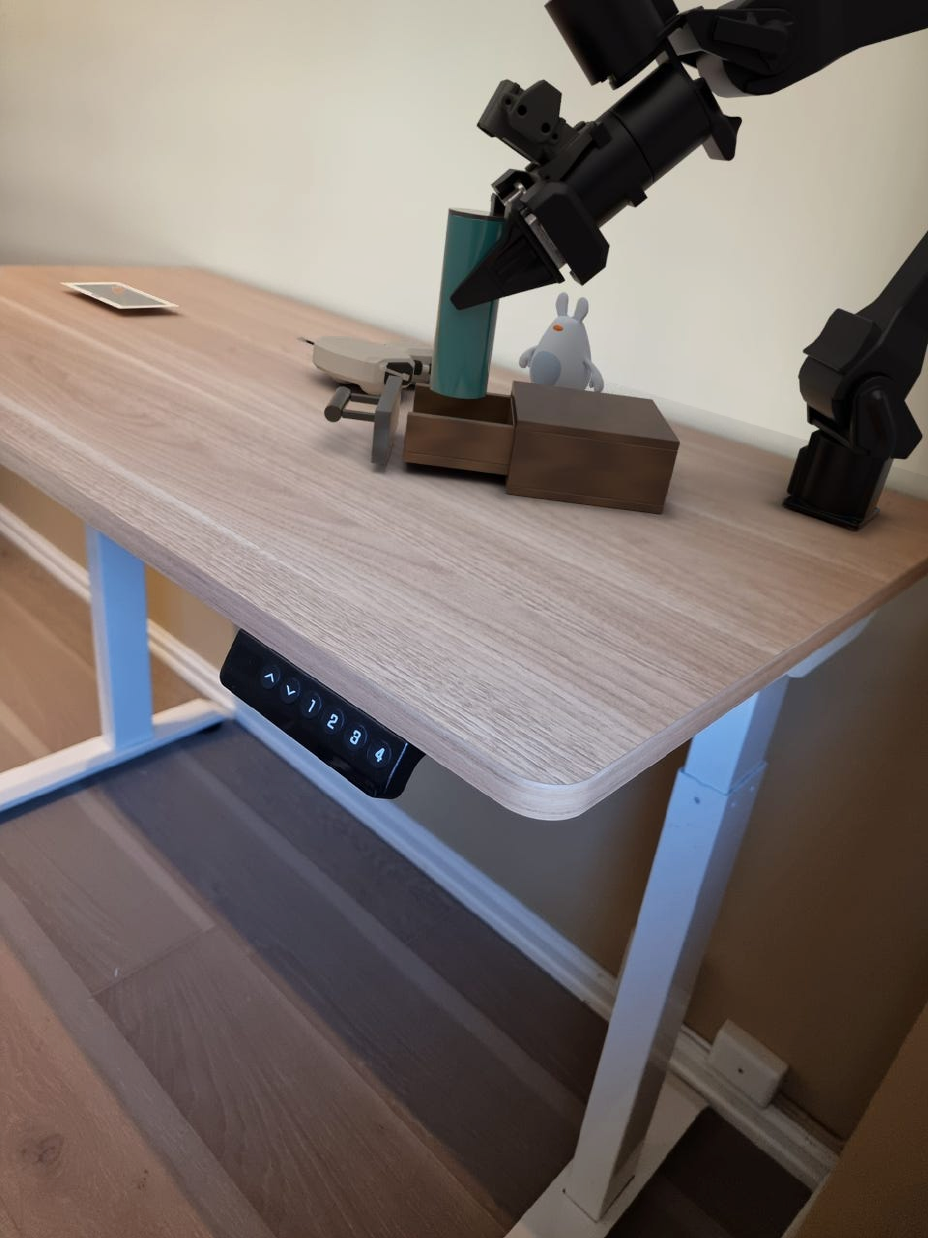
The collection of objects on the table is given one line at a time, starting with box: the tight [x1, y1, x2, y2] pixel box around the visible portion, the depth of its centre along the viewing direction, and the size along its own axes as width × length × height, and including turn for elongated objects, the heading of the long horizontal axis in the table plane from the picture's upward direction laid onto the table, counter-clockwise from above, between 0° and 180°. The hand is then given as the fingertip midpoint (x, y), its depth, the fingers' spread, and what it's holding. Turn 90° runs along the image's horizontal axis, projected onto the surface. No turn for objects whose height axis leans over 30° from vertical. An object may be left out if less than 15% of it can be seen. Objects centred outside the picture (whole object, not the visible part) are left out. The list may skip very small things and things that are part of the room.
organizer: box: [504, 380, 681, 515], centre depth 73 cm, size 12×12×6 cm
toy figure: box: [518, 291, 605, 393], centre depth 88 cm, size 11×6×12 cm, turn 47°
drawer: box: [323, 375, 516, 476], centre depth 73 cm, size 16×11×4 cm
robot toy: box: [296, 335, 433, 397], centre depth 92 cm, size 12×4×15 cm
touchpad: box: [60, 281, 180, 310], centre depth 111 cm, size 8×15×2 cm, turn 46°
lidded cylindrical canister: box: [429, 207, 504, 399], centre depth 65 cm, size 4×4×12 cm
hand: (450, 298), depth 64 cm, fingers closed on lidded cylindrical canister, 4 cm apart
